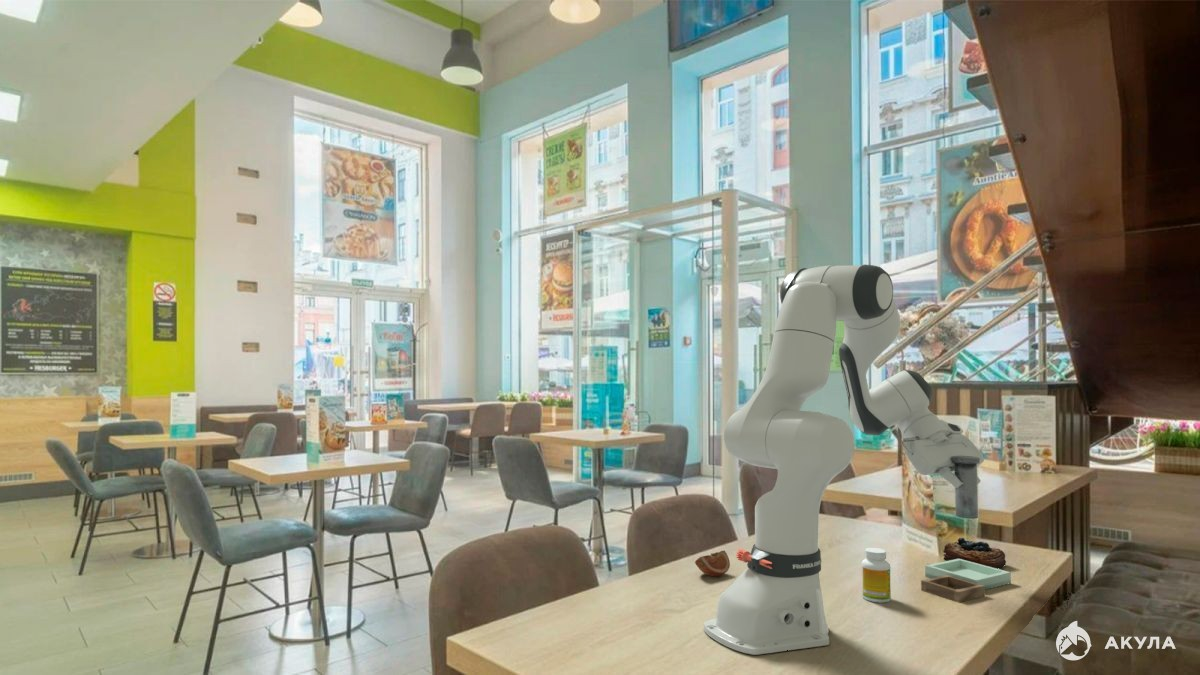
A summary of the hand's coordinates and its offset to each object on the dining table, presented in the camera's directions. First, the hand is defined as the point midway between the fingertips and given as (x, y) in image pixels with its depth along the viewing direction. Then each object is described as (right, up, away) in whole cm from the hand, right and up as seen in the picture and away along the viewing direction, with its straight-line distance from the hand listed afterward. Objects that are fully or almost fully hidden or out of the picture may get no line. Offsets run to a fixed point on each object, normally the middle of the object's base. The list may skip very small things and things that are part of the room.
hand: (968, 484), depth 151 cm
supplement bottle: (-26, -20, -13) cm, 35 cm away
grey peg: (0, -7, 0) cm, 7 cm away
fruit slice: (-57, -21, +2) cm, 60 cm away
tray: (-1, -21, 0) cm, 21 cm away
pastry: (+8, -22, +12) cm, 27 cm away
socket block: (-8, -20, -9) cm, 24 cm away
